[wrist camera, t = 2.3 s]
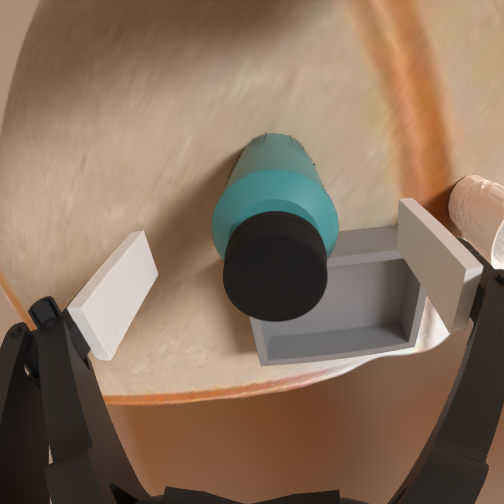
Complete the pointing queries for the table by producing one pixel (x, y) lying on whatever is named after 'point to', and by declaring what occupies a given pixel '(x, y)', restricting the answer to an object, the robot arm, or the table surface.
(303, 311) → the beverage bottle
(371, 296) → the trough tray
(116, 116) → the table surface
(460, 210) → the white cup
